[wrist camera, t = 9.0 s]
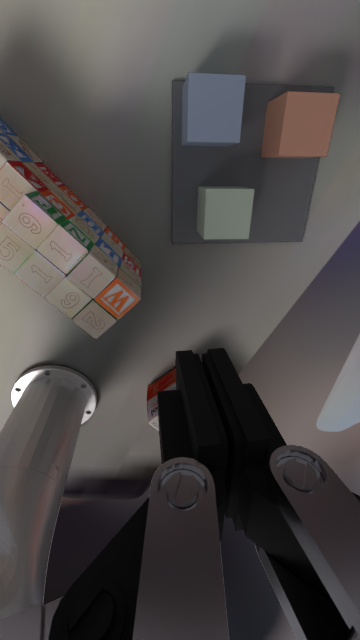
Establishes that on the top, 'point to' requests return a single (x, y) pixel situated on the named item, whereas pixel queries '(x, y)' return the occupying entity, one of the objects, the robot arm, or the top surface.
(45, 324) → the top surface
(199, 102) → the slate-blue cube
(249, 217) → the sage cube
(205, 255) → the top surface
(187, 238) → the charcoal mat
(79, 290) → the stack of blocks
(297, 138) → the terracotta cube
